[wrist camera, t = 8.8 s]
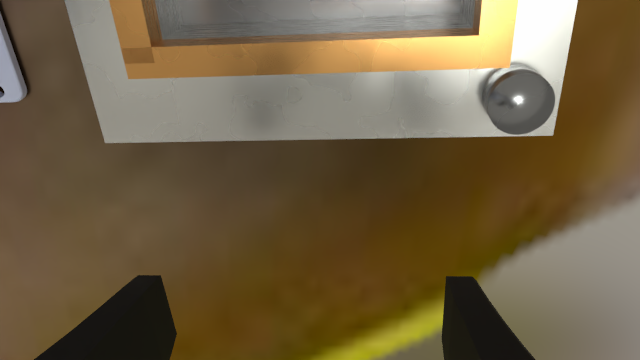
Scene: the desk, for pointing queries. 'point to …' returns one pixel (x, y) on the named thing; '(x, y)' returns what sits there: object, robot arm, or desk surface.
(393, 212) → the desk surface
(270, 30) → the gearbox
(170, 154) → the desk surface
